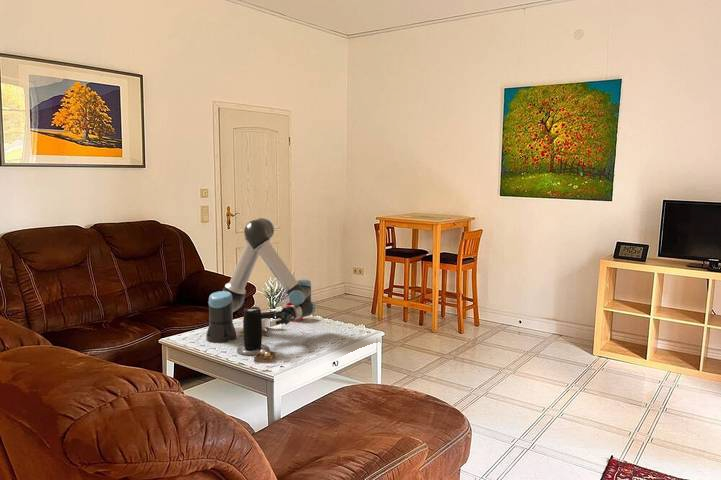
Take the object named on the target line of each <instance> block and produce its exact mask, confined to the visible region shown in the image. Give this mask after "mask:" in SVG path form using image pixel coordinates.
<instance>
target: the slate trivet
mask: <svg viewBox="0 0 721 480" xmlns="http://www.w3.org/2000/svg"><path fill="white" fill-rule="evenodd" d="M262 349H264V350H266V352H270V351H269V350H270V348H269V346H268V345H266V344H262V343H261V349H258V348H257V349H253V350H252V351H248V350H246V349H245V347H244V345H241V346H238V347H237V348H236V353H237V354H238V355H239V356H244V357H254V356H255V355H256V354H257V353H258V352H259V351H261V350H262Z"/></svg>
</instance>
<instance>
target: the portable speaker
mask: <svg viewBox="0 0 721 480" xmlns="http://www.w3.org/2000/svg"><path fill="white" fill-rule="evenodd" d="M261 310H262V309H261V308H260V307H259V306H251V307H246V308H245V307H244V308H243V319H242V322H243V326H242V329H243V330H242V331H243V332H242V334H243V336H242V337H243V346H244V347H245V349H246V350H248V351H252V350H253V349H257V348H258V349H261V344H262V341H263V340H262V338H263V332H262V331H263V329H262V319H261V313H262V311H261Z"/></svg>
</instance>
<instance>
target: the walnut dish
mask: <svg viewBox="0 0 721 480" xmlns="http://www.w3.org/2000/svg"><path fill="white" fill-rule="evenodd" d="M269 352H270V354H271V356H270V357H264V356H261V355H260V351H259V352H258V353H257V354H256V355H255V356H253V362H255V363H273V361H274V360H275V358H276V357H277V352H276V351H269Z"/></svg>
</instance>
